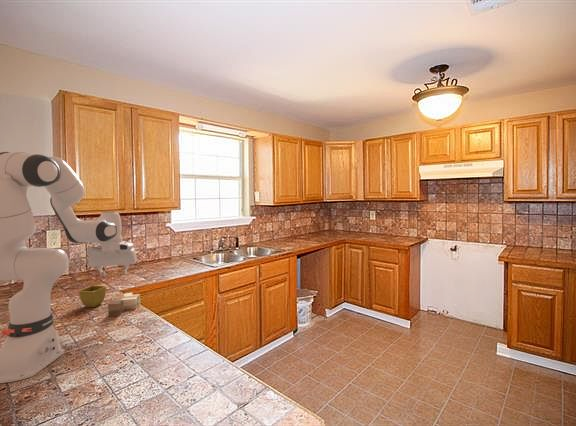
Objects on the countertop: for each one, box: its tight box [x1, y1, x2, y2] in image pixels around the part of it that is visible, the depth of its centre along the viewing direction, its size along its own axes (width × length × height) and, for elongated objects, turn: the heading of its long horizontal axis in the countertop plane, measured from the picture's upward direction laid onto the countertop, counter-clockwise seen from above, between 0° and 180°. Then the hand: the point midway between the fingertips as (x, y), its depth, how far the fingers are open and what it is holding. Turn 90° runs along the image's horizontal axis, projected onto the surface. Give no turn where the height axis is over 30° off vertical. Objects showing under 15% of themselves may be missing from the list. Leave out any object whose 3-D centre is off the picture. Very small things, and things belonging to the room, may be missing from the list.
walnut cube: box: [107, 299, 125, 317], centre depth 146 cm, size 5×5×6 cm
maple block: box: [120, 293, 141, 310], centre depth 155 cm, size 7×7×5 cm
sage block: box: [123, 292, 133, 297], centre depth 162 cm, size 4×4×4 cm
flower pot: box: [78, 285, 107, 308], centre depth 157 cm, size 9×9×9 cm
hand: (113, 274), depth 144 cm, fingers open, 8 cm apart
